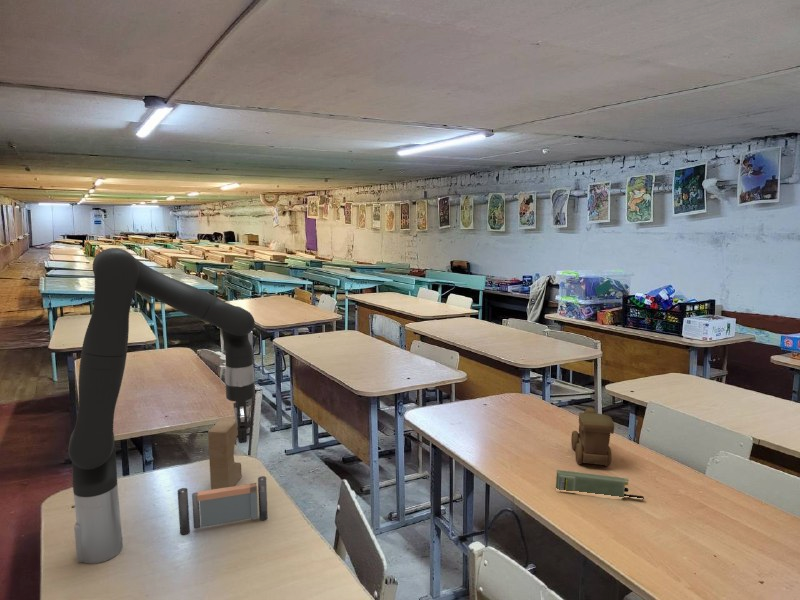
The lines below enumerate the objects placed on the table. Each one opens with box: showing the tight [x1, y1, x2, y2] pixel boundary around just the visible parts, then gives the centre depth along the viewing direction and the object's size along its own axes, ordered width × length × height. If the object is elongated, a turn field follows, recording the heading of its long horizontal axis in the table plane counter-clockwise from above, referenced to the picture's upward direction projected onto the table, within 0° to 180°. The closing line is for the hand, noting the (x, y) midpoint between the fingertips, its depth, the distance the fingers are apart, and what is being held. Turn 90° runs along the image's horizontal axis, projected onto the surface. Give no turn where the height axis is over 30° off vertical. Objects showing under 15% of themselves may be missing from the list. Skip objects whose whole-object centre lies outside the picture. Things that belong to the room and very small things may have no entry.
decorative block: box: [207, 416, 243, 490], centre depth 160 cm, size 11×6×20 cm, turn 175°
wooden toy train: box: [570, 407, 615, 467], centre depth 181 cm, size 20×11×17 cm, turn 170°
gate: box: [191, 482, 259, 530], centre depth 140 cm, size 16×2×9 cm, turn 110°
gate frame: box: [177, 475, 268, 536], centre depth 140 cm, size 22×3×12 cm, turn 110°
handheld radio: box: [555, 469, 645, 500], centre depth 158 cm, size 7×3×25 cm
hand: (242, 440), depth 144 cm, fingers closed
